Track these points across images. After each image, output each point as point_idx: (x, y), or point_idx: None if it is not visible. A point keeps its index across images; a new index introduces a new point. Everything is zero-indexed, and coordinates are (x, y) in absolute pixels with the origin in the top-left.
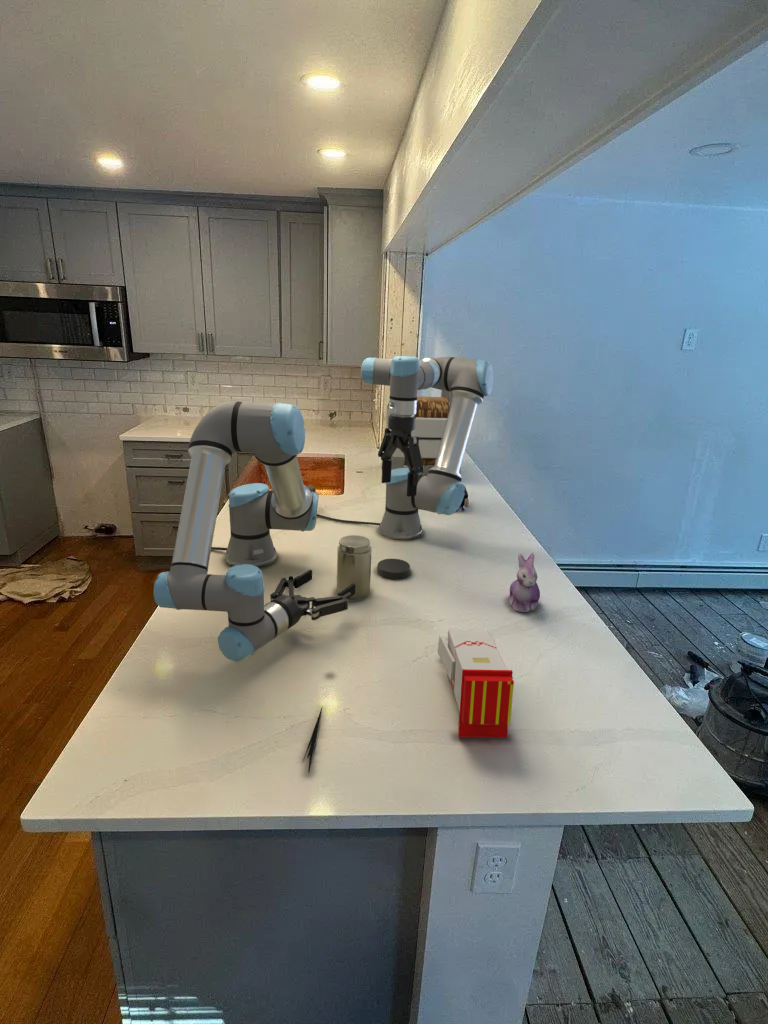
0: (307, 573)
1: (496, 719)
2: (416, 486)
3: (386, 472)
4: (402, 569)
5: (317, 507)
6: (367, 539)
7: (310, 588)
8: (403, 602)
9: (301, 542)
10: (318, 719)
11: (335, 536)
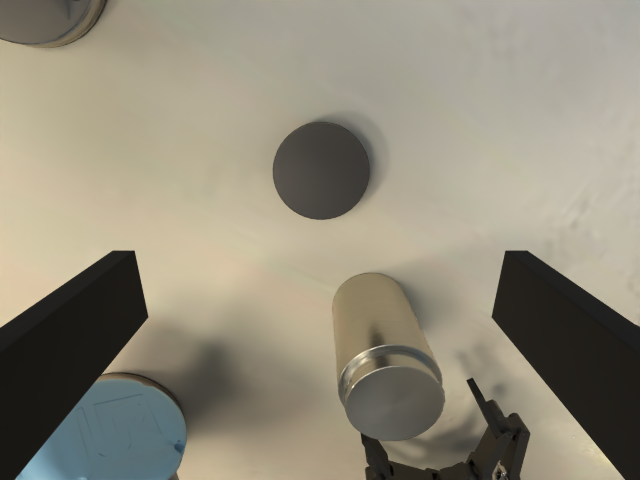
0: (375, 451)
1: None
2: (579, 290)
3: (86, 347)
4: (356, 165)
5: None
6: (403, 370)
7: (311, 367)
8: (469, 234)
9: None
10: None
11: (28, 200)
